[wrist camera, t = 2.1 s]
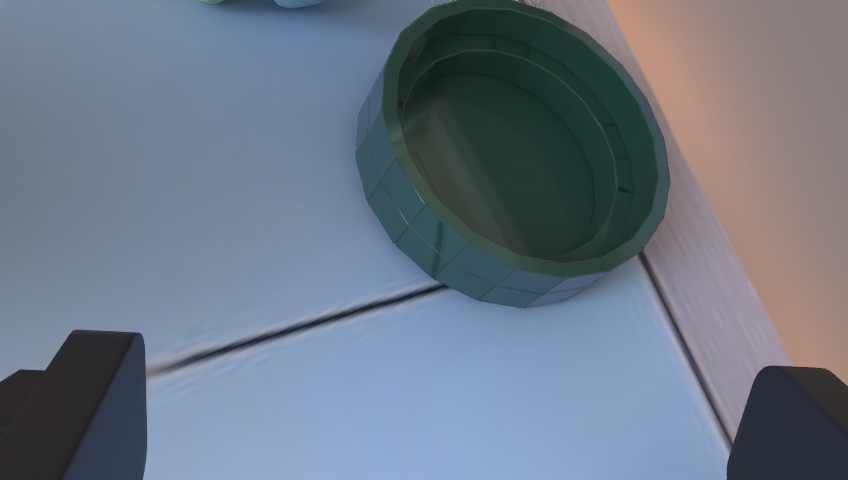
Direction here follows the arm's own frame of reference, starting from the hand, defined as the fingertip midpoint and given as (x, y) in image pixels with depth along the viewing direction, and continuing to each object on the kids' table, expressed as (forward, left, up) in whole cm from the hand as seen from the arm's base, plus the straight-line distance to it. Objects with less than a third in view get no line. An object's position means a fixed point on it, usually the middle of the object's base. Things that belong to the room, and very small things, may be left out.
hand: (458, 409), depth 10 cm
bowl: (-2, +20, -20) cm, 28 cm away
